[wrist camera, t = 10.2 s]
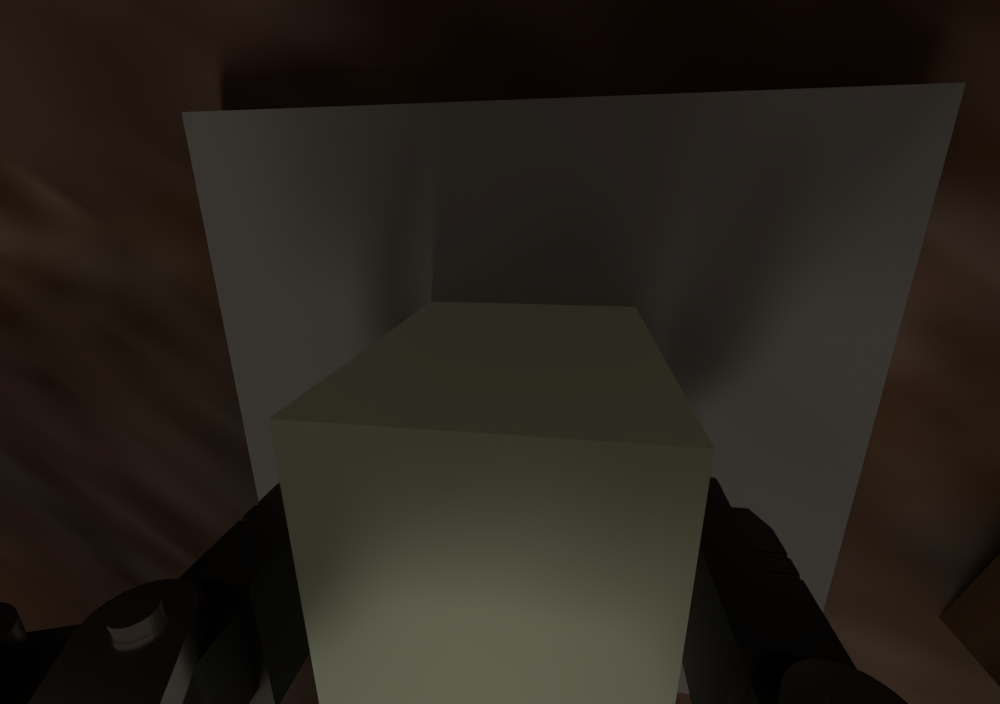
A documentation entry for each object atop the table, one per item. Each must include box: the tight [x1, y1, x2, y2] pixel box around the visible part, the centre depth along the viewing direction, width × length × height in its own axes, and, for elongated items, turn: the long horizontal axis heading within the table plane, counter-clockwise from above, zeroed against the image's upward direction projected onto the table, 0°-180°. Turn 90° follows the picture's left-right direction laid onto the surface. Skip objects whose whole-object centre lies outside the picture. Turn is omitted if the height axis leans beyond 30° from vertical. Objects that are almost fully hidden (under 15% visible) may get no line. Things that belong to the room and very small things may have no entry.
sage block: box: [268, 301, 715, 704], centre depth 9 cm, size 4×7×6 cm, turn 0°
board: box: [182, 82, 966, 694], centre depth 12 cm, size 15×15×1 cm
